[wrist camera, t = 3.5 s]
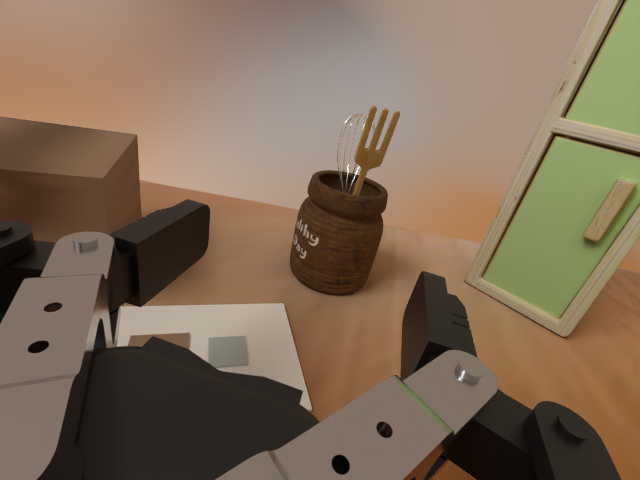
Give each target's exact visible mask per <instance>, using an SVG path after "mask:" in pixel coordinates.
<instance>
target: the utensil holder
mask: <svg viewBox="0 0 640 480" xmlns="http://www.w3.org/2000/svg"><path fill="white" fill-rule="evenodd" d="M376 110H377V108H376V107H375V106H372V107H371V108H370V111H369V114H368V116H366V115H363V116H364V118H366V117H367V119H366V123H365V122H364V123H365V126H364V127H363V132H362V136H361V139H360V141H359V145H358V147H357V150H356V153H355V157H354V159H355V162H356V163H357V164H358V165H359V166H360V167H361V168H362V169H361V172H360V175H356V174H351V173H348V172H342V171H331V170H330V171H329V170H328V171H320V172H316V173H315V174H314V175H313V176H312V178H311V181H310V183H309V186H308V194H309V197H308V198H307V199H305V201H304V202H303V203H302V205H301V207H300V210H299V213H298V217H297V221H296V226H295V231H294V237H293V242H292V248H291V255H290V266H291V270H292V272H293V274H294V275H295V276H296V278H297V279H298V280H299V281H301V282H302V283H303V284H305V285H306V286H308V287H310V288H312V289H314V290H317V291H320V292H324V293H329V294H348V293H352V292H354V291H356V290H358V289H360V288H361V287H362V286H363V285H364V283H365V282H366V280H367V278H368V276H369V273H370V270H371V268H372V265H373V262H374V259H375V256H376V253H377V250H378V247H379V243H380V240H381V236H382V232H383V219H382V216H381V213H383V212H384V210H385V208H386V204H387V197H388V194H387V191H386V189H385V188H384V187H383V186H381V185H380V184H378V183H377V182H375V181H373V180H370V179H368V178H365V176H366V174H367V171H368V170H369V169H372V168H375V167H379V166H380V165H381V163H382V161H383V158H384V155H385V153H386V150H387V148H388V145H389V142H390V140H391V137H392V135H393V132H394V129H395V127H396V124H397V121H398V119H399V116H400V112H399V111H396V112H394V114H393V117H392V120H391V122H390V125H389V127H388V130H387V133H386V135H385V138H384V140H383V143H382V146H381V148H380V149H379V150H375V149H376V146H377V143H378V140H379V138H380V135H381V132H382V128H383V126H384V123H385V121H386V117H387V115H388V109H386V108H385V109H383V111H382V113H381V116H380V119H379V122H378V124H377V127H376V130H375V132H373V138H372V141H371V143H370V146H369V147H368V148H365V144H366V141H367V138H368V135H369V132H370V129H371V125H372V124H373V129H375V126H374V123H373V120H374V116H375V113H376ZM358 115H361V116H362V114H355V116H356V117H357V116H358ZM352 116H353V117H354V115H352ZM352 116H350V117H352ZM361 116H360V117H361ZM365 116H366V117H365ZM350 117H349V118H350ZM356 117H355V118H356ZM360 117H359V118H360ZM349 118H348V119H349ZM355 118H354V119H355ZM348 119H347V120H348ZM351 119H352V118H351ZM351 119H350V120H351ZM347 120H346V121H347ZM350 120H349V121H350ZM349 121H348V122H349ZM353 121H354V120H353ZM353 121H352V123H353ZM358 121H359V119H358ZM364 121H365V119H364ZM344 124H345V123H344ZM347 124H348V123H347ZM357 124H358V122H357ZM351 125H352V124H351ZM343 126H344V125H343ZM356 126H357V125H356ZM350 128H351V127H350ZM342 129H343V127H342ZM345 129H346V127H345ZM373 131H374V130H373ZM344 132H345V130H344ZM349 132H350V130H349ZM341 133H342V131H341ZM354 135H355V132H354ZM348 136H349V134H348ZM340 137H341V135H340ZM343 137H344V134H343ZM342 140H343V138H342ZM347 140H348V138H347ZM353 140H354V137H353ZM339 142H340V140H339ZM341 144H342V143H341ZM352 144H353V142H352ZM346 145H347V143H346ZM341 146H342V145H341ZM338 147H339V145H338ZM351 150H352V149H351ZM340 151H341V150H340ZM345 151H346V149H345ZM337 153H338V151H337ZM340 154H341V152H340ZM350 155H351V152H350ZM337 157H338V155H337ZM344 160H345V154H344ZM337 162H338V159H337ZM349 162H350V158H349ZM340 165H341V164H340ZM355 165H356V164H355ZM348 166H349V165H348ZM355 167H356V166H355ZM348 168H349V167H348ZM338 169H339V165H338ZM340 169H341V167H340ZM358 169H359V168H358ZM358 169H357V171H358ZM354 170H355V168H354ZM353 173H354V171H353Z"/></svg>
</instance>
